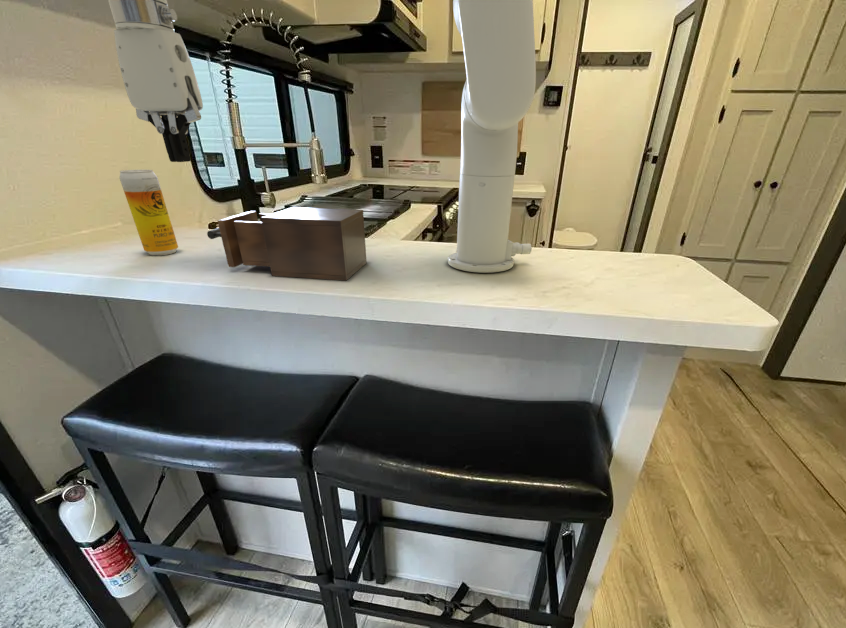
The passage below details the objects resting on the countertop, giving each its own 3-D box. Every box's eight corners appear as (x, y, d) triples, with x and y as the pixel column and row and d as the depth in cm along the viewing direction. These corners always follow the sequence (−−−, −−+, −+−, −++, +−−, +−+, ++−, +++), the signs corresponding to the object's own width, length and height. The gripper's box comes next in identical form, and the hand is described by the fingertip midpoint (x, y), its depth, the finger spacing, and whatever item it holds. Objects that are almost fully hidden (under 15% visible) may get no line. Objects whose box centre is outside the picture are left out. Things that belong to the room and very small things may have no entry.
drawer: (206, 265, 74) (194, 219, 70) (239, 251, 82) (230, 210, 78) (294, 271, 71) (287, 223, 67) (318, 256, 80) (313, 213, 76)
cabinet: (271, 275, 72) (260, 217, 67) (300, 259, 82) (292, 206, 77) (346, 280, 70) (340, 220, 65) (366, 263, 80) (363, 209, 75)
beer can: (164, 257, 82) (137, 172, 74) (138, 255, 83) (108, 171, 75) (186, 249, 87) (162, 169, 79) (161, 248, 88) (135, 169, 80)
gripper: (205, 25, 63) (233, 161, 72) (119, 26, 65) (157, 159, 74) (171, 12, 57) (207, 164, 66) (76, 15, 59) (124, 161, 68)
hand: (180, 161), depth 70 cm, fingers closed
